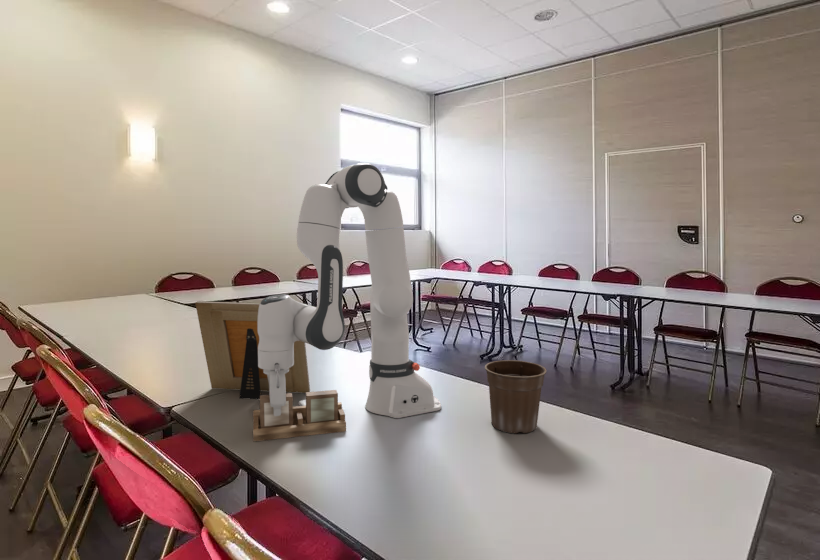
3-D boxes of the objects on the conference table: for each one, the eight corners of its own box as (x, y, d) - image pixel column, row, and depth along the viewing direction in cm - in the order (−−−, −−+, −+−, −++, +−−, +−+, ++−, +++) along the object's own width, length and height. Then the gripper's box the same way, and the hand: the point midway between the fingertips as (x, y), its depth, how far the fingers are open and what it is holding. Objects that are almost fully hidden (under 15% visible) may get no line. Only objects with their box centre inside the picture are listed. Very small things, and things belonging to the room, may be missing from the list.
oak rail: (340, 419, 133) (341, 402, 133) (346, 431, 126) (346, 412, 125) (253, 428, 126) (253, 410, 126) (253, 441, 119) (253, 421, 118)
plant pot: (473, 428, 129) (475, 369, 127) (495, 410, 143) (497, 356, 141) (533, 443, 121) (536, 380, 119) (550, 421, 134) (553, 365, 133)
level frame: (336, 418, 130) (336, 389, 130) (337, 422, 127) (337, 393, 127) (305, 421, 128) (305, 392, 127) (307, 426, 125) (306, 396, 124)
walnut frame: (292, 422, 127) (291, 392, 126) (293, 427, 124) (292, 396, 123) (260, 425, 125) (259, 395, 124) (260, 430, 122) (259, 399, 121)
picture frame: (310, 392, 155) (309, 300, 152) (300, 403, 146) (299, 305, 143) (213, 387, 159) (211, 297, 156) (197, 398, 149) (194, 301, 146)
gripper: (291, 369, 114) (292, 425, 115) (286, 348, 133) (287, 397, 134) (263, 371, 112) (264, 428, 113) (262, 350, 131) (263, 399, 132)
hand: (276, 411), depth 124 cm, fingers open, 3 cm apart
